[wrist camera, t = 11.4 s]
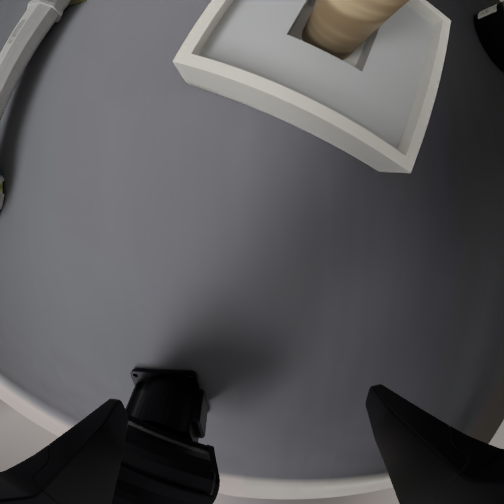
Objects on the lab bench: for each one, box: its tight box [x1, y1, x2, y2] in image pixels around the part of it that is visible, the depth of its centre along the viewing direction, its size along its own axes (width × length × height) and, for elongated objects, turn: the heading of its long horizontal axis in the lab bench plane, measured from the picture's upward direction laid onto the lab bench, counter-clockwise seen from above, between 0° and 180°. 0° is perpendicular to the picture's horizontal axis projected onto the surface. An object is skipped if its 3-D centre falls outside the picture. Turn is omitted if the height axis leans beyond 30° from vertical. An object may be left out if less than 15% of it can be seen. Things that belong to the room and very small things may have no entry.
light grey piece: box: [0, 0, 71, 209], centre depth 13 cm, size 5×7×25 cm
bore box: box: [173, 0, 451, 173], centre depth 14 cm, size 16×16×4 cm
